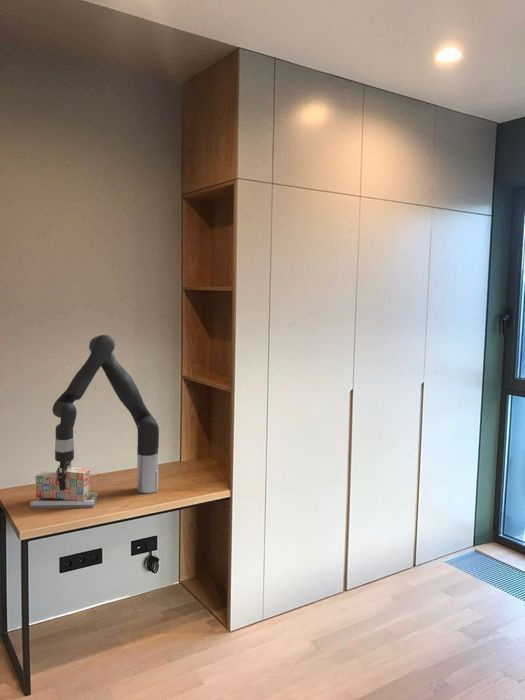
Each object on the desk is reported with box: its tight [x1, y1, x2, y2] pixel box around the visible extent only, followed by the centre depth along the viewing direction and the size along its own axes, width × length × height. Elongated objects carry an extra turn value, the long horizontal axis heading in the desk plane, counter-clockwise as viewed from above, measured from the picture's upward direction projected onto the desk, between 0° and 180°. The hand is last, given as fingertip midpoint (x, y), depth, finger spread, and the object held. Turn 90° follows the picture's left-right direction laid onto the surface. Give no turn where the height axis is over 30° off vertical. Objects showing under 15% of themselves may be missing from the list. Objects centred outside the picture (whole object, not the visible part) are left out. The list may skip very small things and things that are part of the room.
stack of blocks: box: [35, 466, 91, 502], centre depth 237 cm, size 21×6×12 cm, turn 81°
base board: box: [30, 492, 98, 509], centre depth 238 cm, size 25×10×3 cm, turn 97°
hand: (64, 486), depth 237 cm, fingers closed on stack of blocks, 7 cm apart
